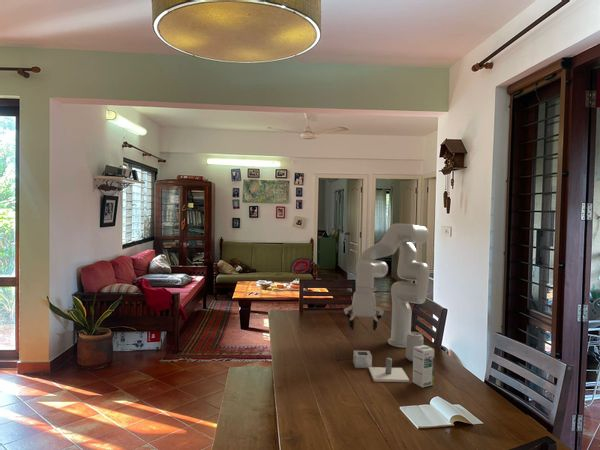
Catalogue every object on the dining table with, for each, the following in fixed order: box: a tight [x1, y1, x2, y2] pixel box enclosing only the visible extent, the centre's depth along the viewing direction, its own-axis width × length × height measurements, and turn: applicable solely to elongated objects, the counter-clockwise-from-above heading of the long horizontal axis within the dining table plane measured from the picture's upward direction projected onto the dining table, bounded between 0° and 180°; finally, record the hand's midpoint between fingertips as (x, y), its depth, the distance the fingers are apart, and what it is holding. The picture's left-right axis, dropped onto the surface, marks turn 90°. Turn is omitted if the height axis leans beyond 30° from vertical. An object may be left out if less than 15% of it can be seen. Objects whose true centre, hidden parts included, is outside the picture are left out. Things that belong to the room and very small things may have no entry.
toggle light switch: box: [368, 357, 410, 383], centre depth 170 cm, size 14×12×7 cm
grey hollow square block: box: [352, 350, 373, 369], centre depth 181 cm, size 7×7×5 cm
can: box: [405, 331, 425, 362], centre depth 189 cm, size 8×8×12 cm
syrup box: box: [412, 344, 435, 388], centre depth 163 cm, size 6×6×14 cm
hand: (363, 329), depth 180 cm, fingers open, 9 cm apart
